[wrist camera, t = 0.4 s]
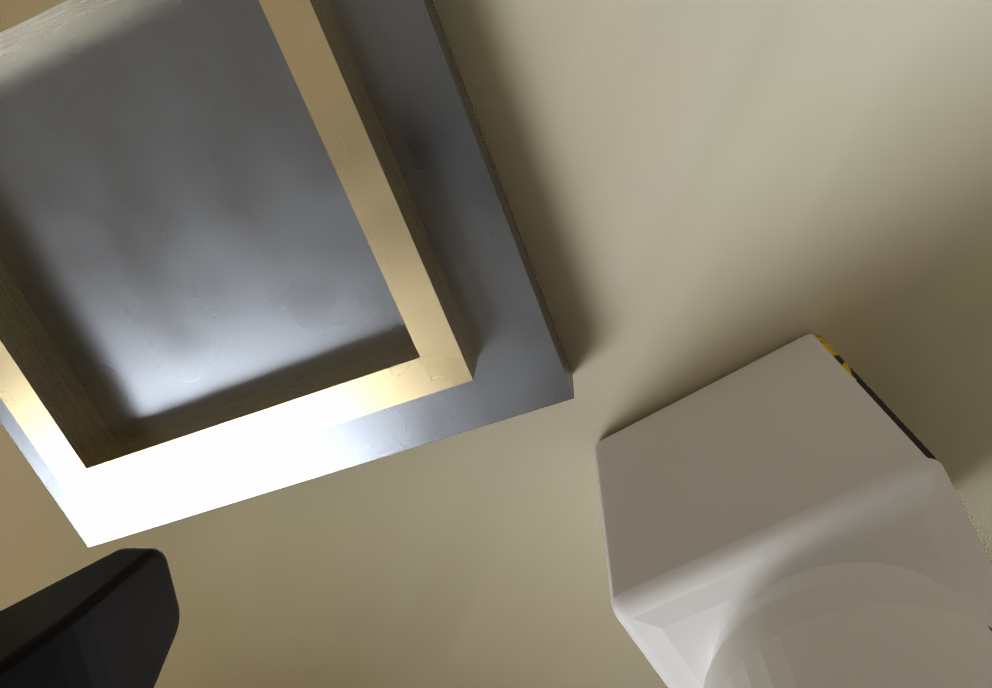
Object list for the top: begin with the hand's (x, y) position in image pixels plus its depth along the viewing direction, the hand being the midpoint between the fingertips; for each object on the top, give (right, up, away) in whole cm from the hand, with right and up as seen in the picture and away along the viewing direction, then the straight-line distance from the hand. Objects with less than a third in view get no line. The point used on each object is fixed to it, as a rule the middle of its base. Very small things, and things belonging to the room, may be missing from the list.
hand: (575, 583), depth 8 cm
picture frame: (-9, +6, +12) cm, 16 cm away
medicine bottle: (+7, -1, +14) cm, 16 cm away
